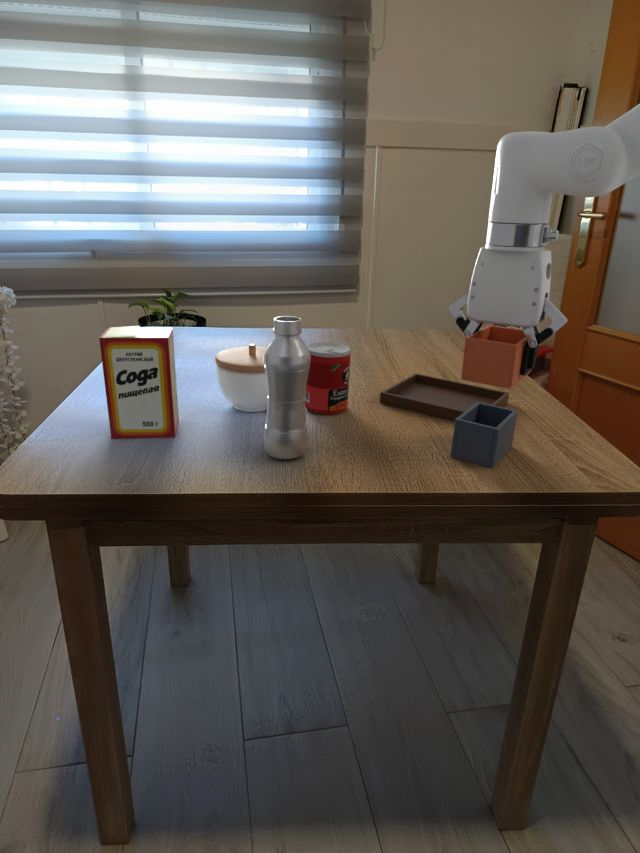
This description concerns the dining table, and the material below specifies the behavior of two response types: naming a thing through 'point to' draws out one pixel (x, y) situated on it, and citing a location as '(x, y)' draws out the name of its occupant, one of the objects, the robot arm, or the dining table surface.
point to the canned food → (328, 378)
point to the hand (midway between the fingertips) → (497, 367)
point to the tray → (439, 396)
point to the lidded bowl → (243, 377)
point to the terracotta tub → (494, 356)
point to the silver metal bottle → (286, 390)
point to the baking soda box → (140, 381)
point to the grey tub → (483, 434)
